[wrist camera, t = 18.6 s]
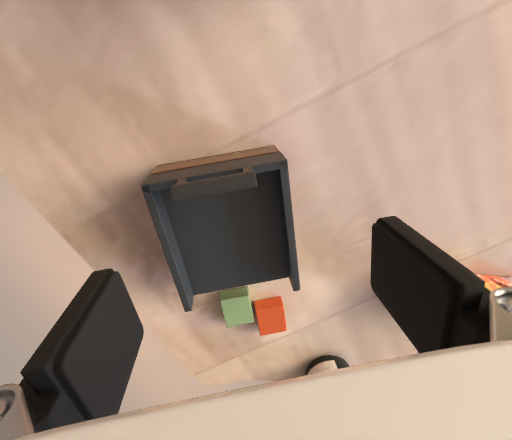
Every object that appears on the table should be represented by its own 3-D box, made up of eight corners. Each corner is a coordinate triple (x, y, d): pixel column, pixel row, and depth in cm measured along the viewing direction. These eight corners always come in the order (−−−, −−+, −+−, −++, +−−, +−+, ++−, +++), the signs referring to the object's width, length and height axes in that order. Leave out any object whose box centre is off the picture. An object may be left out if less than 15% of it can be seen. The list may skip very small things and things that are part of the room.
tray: (147, 172, 28) (128, 195, 23) (280, 148, 29) (295, 166, 23) (188, 293, 36) (181, 335, 30) (293, 273, 36) (308, 310, 30)
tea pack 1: (226, 327, 41) (226, 317, 43) (254, 322, 41) (252, 312, 43) (219, 300, 39) (219, 291, 40) (248, 295, 39) (247, 286, 41)
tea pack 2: (260, 336, 42) (258, 325, 44) (286, 330, 42) (284, 321, 44) (255, 310, 40) (254, 301, 42) (283, 305, 40) (280, 296, 42)
